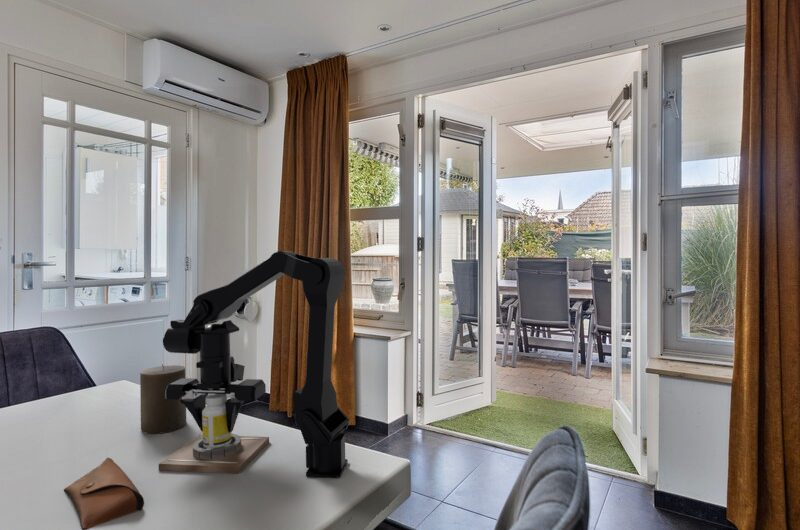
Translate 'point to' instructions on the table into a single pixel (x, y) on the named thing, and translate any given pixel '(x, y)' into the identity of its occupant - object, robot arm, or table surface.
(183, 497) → the table surface
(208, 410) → the supplement bottle
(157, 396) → the pillar candle
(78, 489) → the sunglasses case
